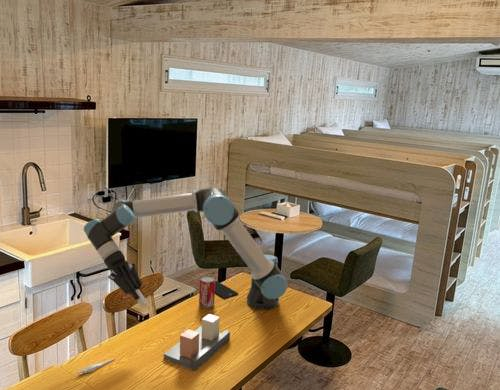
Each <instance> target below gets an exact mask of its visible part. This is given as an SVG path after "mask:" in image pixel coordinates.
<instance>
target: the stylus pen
mask: <svg viewBox="0 0 500 390" xmlns="http://www.w3.org/2000/svg"><path fill="white" fill-rule="evenodd" d="M114 359H115V358H112V359H108V360H104V361H101V362H98V363H95V364H88V365H87V366H86V367H85V368H82V369H80V370H79V371H77V372H76V374H77V375H79V374H80V373H86V374H88V373H89V372H90V373H93V372H94V371H96V370H97V369H96V368H98V369H100V368H102V367H104V366H106V365H107V364H106V363H108V364H110V363H111V362H113V361H115V360H114ZM112 360H113V361H112ZM110 361H111V362H110ZM109 362H110V363H109ZM105 364H106V365H105ZM103 365H104V366H103ZM101 366H102V367H101ZM99 367H100V368H99ZM95 369H96V370H95ZM92 371H93V372H92ZM87 372H88V373H87Z"/></svg>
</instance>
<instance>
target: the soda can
mask: <svg viewBox="0 0 500 390" xmlns="http://www.w3.org/2000/svg"><path fill="white" fill-rule="evenodd" d="M215 281H216V280H215V278H214V277H213V276H209V275H206V276H202V277H201V278H200V281H199V290H198V291H199V292H198V294H199V295H198V305H199V306H200V307H202V308H203V309H208V308H209V309H210V308H212V307H213V306H214V305H215V295H216V294H215Z"/></svg>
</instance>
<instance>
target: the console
mask: <svg viewBox="0 0 500 390" xmlns="http://www.w3.org/2000/svg"><path fill="white" fill-rule="evenodd" d="M194 331H195V332H198V333H199V353H198V354H196V355H195V356H194V357H193V358H192V359H190V358H187V357H184V356H182V355H180V341H179V342H178V343H176V344H175V345H174V346H172V347H171V348H169V349H168V350H167V351H166V352H164V353H163V360H166V361H168V362H170V363H172V364H175V365H178V366H181V367H183V368H185V369H188V370H191V371H193V372H196V371H198V369H200V367H202V366H203V365H204V364H205V363H207V362H208V361H209V360H210V359H211V358H212V357H213V356H215V354H216V353H217V352H218V351H220V350H221V349H222V348H223V347H224V346H225V345H226V344H227V343H229V341H230V340H231V331H229V330H227V329H225V330H224V331H223V332H220V331H219V336H218V337H217V338H215V339H214V340H213V341H210V340H207V339H205V338H202V325H200V326H198V327H197V328H196V329H195V330H194Z"/></svg>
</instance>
